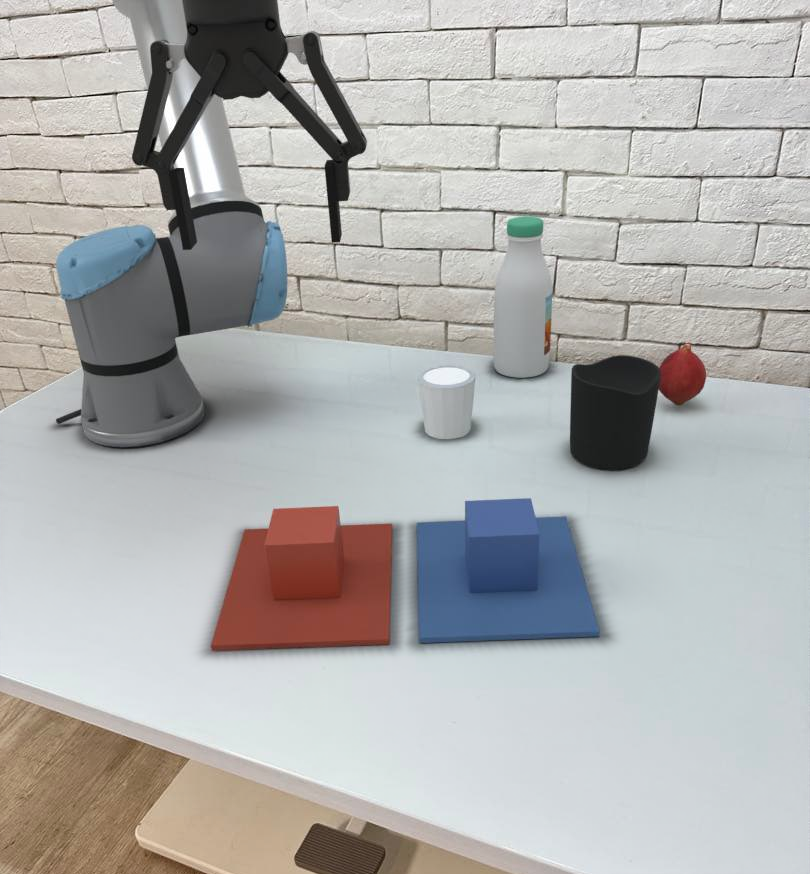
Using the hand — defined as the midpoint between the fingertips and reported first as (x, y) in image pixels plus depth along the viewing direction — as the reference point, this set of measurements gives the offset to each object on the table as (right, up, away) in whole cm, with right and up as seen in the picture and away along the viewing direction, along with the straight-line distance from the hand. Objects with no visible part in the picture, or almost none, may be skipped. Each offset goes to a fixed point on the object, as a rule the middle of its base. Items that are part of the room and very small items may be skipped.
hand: (263, 242), depth 79 cm
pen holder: (+36, -18, +19) cm, 45 cm away
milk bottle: (+29, -4, +41) cm, 50 cm away
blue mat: (+22, -31, 0) cm, 38 cm away
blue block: (+22, -30, 0) cm, 37 cm away
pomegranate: (+47, -11, +29) cm, 56 cm away
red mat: (+4, -31, 0) cm, 32 cm away
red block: (+4, -31, 0) cm, 31 cm away
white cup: (+18, -14, +26) cm, 35 cm away
